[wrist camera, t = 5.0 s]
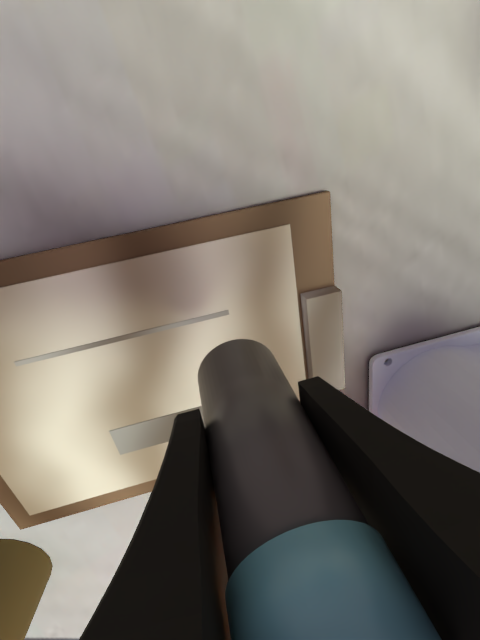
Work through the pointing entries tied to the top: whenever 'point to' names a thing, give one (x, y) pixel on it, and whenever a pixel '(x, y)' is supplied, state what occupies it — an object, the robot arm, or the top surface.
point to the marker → (292, 516)
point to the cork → (20, 586)
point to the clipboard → (149, 343)
